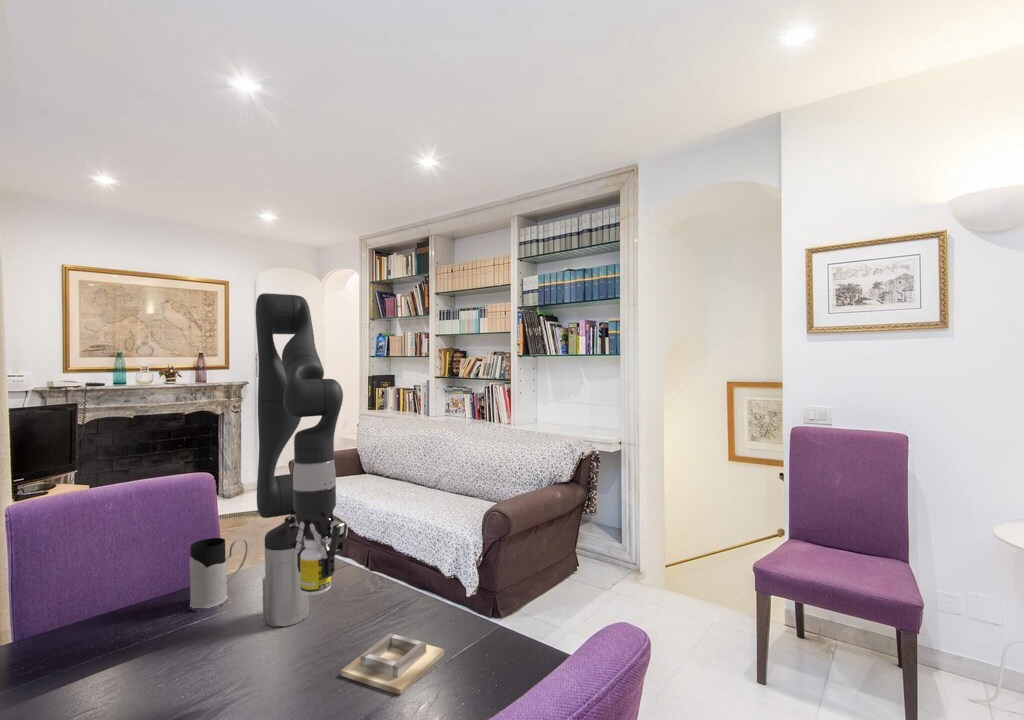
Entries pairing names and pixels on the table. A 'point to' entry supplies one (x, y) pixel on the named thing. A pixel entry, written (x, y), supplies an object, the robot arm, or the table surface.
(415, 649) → the socket stand
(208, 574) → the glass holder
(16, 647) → the table surface
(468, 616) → the table surface
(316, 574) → the supplement bottle
